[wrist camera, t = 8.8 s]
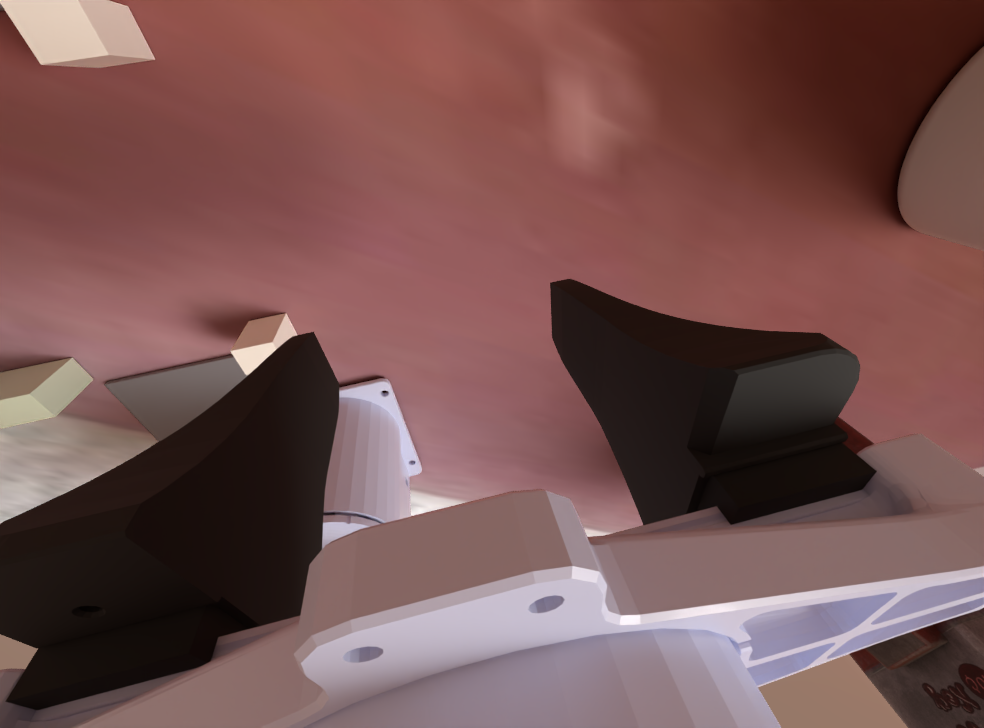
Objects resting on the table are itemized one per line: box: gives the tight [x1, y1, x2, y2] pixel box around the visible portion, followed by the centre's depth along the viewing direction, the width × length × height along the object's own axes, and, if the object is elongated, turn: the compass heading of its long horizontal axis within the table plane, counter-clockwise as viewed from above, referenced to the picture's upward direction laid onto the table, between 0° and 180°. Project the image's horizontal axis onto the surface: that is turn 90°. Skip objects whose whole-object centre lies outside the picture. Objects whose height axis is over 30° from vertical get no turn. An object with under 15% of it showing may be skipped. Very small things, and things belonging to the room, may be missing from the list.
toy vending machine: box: [834, 417, 984, 728], centre depth 27 cm, size 9×11×28 cm
